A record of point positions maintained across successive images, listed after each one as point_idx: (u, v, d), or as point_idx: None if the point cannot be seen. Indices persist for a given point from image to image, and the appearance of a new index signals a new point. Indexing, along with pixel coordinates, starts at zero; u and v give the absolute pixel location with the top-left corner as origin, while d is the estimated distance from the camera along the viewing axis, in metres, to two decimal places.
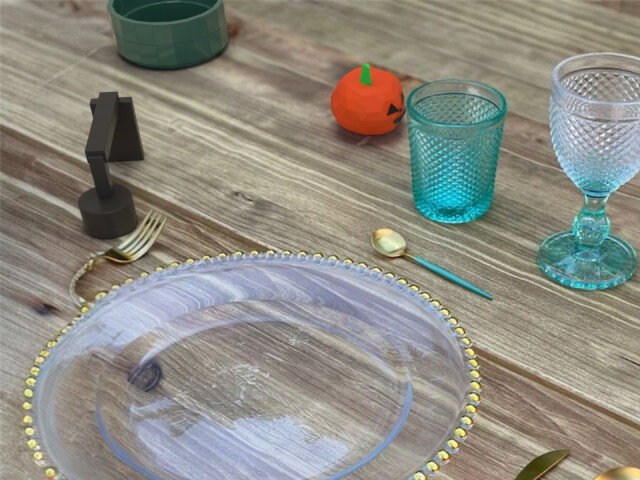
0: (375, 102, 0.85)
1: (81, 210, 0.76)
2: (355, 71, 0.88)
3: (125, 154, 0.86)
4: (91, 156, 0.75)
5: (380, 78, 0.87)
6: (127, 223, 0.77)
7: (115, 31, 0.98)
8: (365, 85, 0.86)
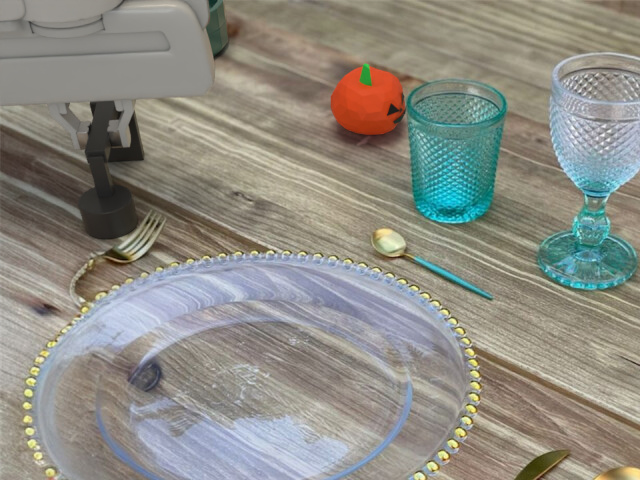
0: (375, 102, 0.85)
1: (81, 210, 0.76)
2: (355, 71, 0.88)
3: (126, 154, 0.86)
4: (91, 156, 0.75)
5: (380, 78, 0.87)
6: (127, 223, 0.77)
7: None
8: (365, 85, 0.86)
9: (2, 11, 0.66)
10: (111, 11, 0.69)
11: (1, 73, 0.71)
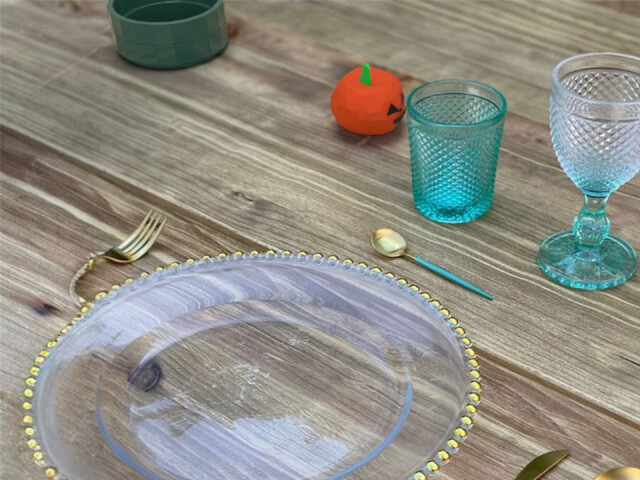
0: (375, 102, 0.85)
1: None
2: (355, 71, 0.88)
3: None
4: None
5: (380, 77, 0.87)
6: None
7: (115, 31, 0.98)
8: (365, 85, 0.86)
9: None
10: None
11: None
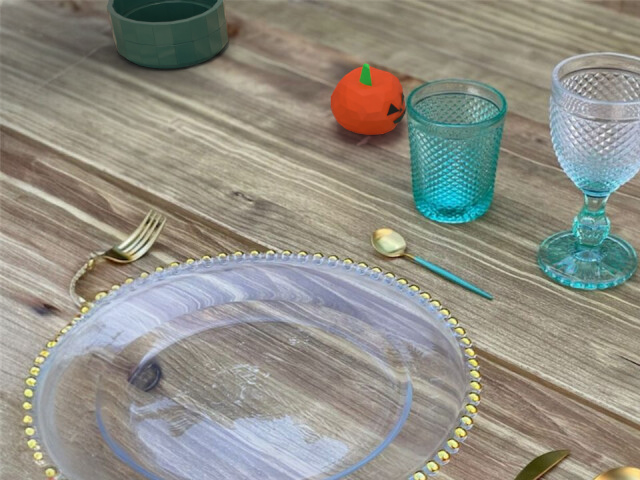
0: (375, 102, 0.85)
1: None
2: (355, 71, 0.88)
3: None
4: None
5: (380, 78, 0.87)
6: None
7: (115, 31, 0.98)
8: (365, 85, 0.86)
9: None
10: None
11: None
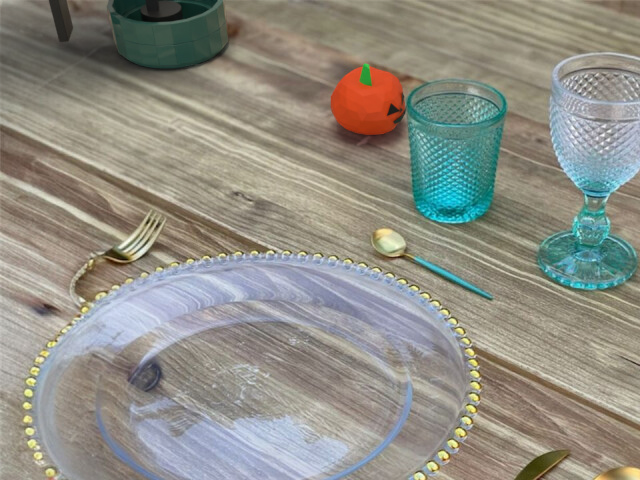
0: (375, 102, 0.85)
1: (171, 16, 1.00)
2: (355, 71, 0.88)
3: (70, 27, 1.02)
4: None
5: (380, 78, 0.87)
6: None
7: (115, 31, 0.98)
8: (365, 85, 0.86)
9: None
10: None
11: None
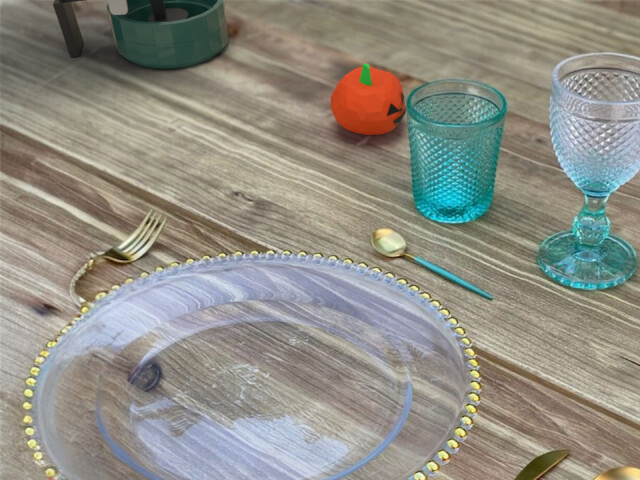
0: (375, 102, 0.85)
1: None
2: (355, 71, 0.88)
3: (80, 42, 1.02)
4: None
5: (380, 78, 0.87)
6: None
7: (115, 31, 0.98)
8: (365, 85, 0.86)
9: None
10: None
11: None
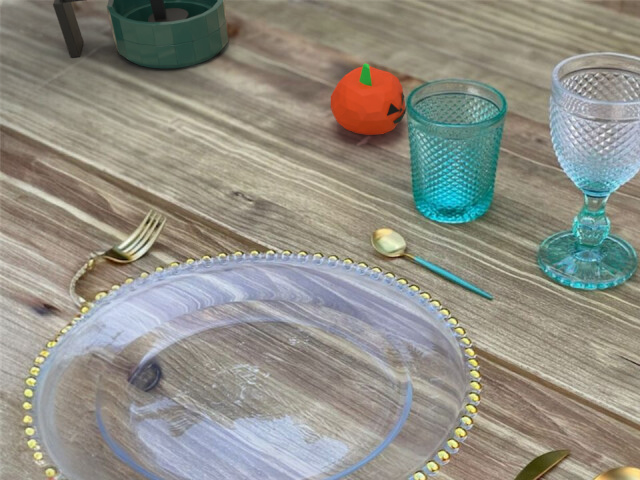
0: (375, 102, 0.85)
1: None
2: (355, 71, 0.88)
3: (80, 42, 1.02)
4: None
5: (380, 78, 0.87)
6: None
7: (115, 31, 0.98)
8: (365, 85, 0.86)
9: None
10: None
11: None
